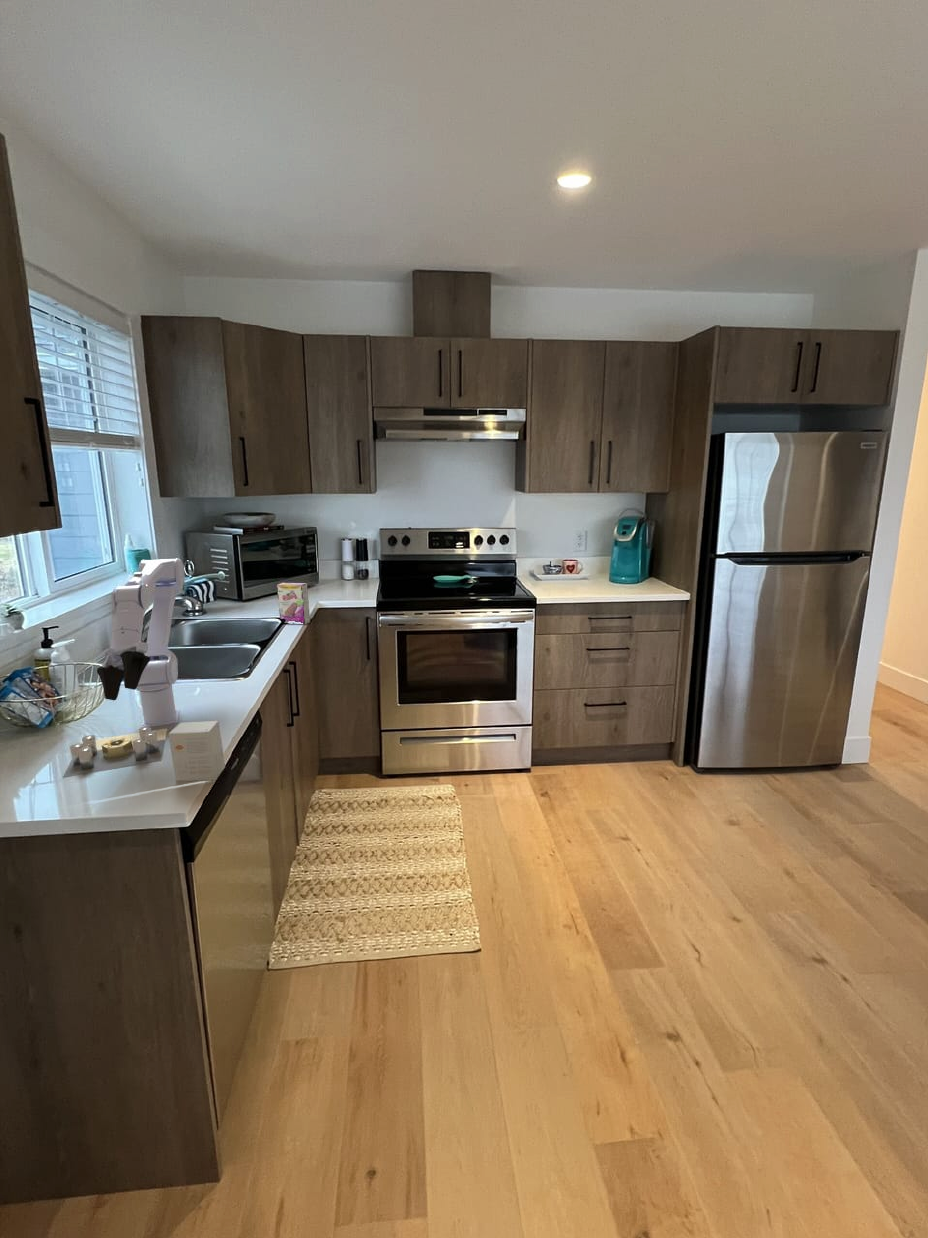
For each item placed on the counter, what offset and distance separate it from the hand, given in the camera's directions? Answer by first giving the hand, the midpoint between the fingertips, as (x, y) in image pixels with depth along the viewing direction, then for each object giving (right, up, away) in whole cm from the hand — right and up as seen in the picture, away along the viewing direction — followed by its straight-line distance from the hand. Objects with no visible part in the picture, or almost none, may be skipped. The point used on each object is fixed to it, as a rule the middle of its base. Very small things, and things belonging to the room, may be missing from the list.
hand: (120, 694), depth 131 cm
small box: (+19, -16, -5) cm, 25 cm away
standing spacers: (-3, -14, +4) cm, 15 cm away
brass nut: (-3, -14, +5) cm, 15 cm away
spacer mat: (-4, -14, +7) cm, 16 cm away
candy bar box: (+3, +14, +124) cm, 125 cm away
